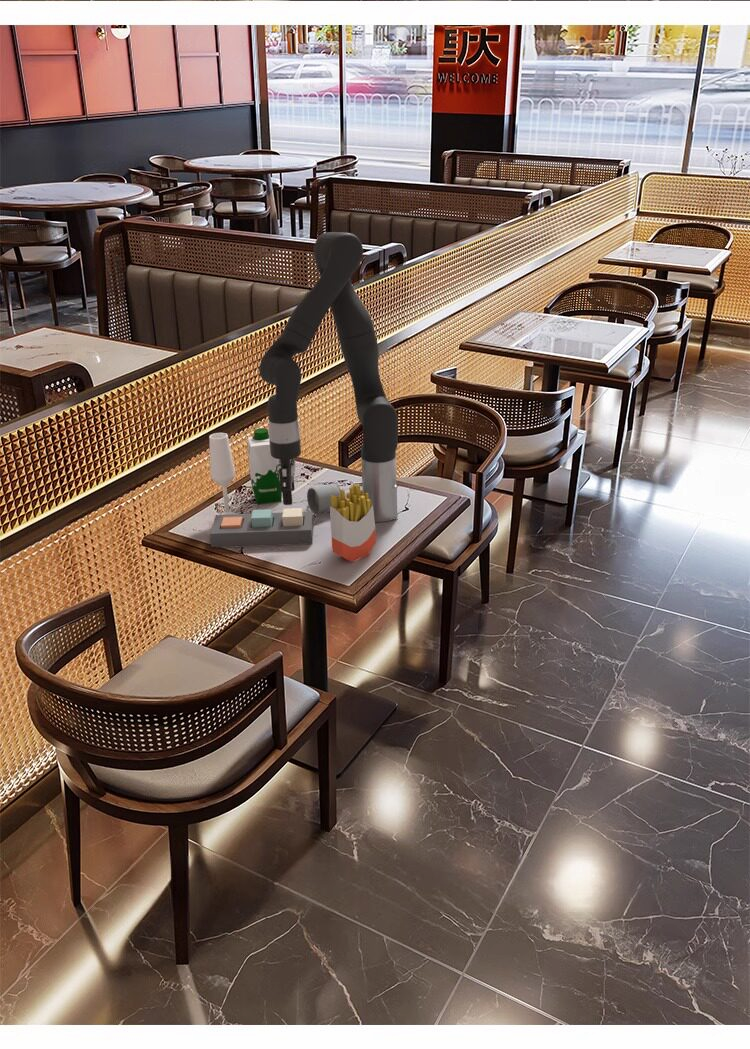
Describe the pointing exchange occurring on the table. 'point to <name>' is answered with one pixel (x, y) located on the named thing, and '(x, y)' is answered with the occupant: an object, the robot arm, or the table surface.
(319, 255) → the robot arm
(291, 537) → the grey long flat block
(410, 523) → the table surface
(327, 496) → the ceramic mug
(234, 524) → the terracotta key
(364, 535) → the french fries container
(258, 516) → the teal key
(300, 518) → the sand key
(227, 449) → the champagne flute
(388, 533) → the table surface
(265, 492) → the milk carton
